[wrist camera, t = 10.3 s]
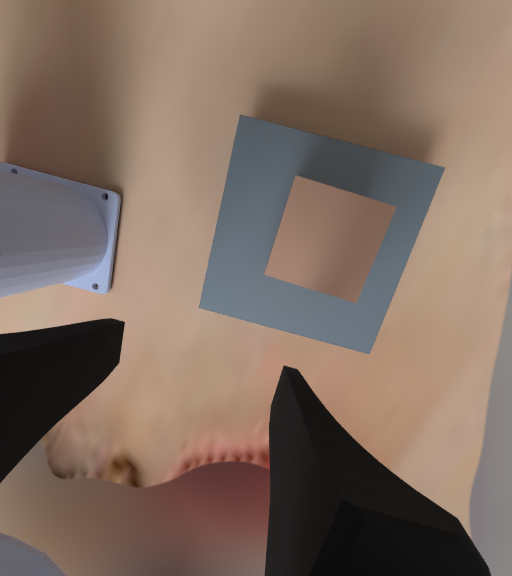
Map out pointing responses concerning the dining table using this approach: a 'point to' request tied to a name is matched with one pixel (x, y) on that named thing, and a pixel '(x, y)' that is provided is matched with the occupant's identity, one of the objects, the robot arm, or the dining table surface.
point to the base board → (267, 215)
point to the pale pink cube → (328, 239)
